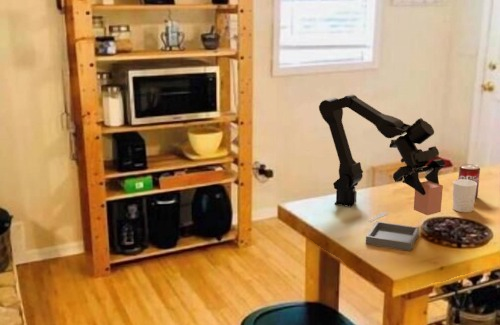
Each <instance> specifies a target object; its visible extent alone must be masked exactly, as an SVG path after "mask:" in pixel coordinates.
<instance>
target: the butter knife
mask: <svg viewBox="0 0 500 325" xmlns="http://www.w3.org/2000/svg"><path fill="white" fill-rule="evenodd" d="M387 215H389V213H388V212H386V211H382V212H380V213H378V214H377V215H376V216H375V217H373V218H371V219H369V220H367V221H368V222H369V223H372V222H374V221H376V220H378V219H380V218H382V217H385V216H387Z"/></svg>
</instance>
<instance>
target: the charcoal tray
mask: <svg viewBox="0 0 500 325" xmlns="http://www.w3.org/2000/svg"><path fill="white" fill-rule="evenodd" d="M419 233H420V227H417V226H412V225H406V224H397V223H391V222H387V221H379V220H377V221H376V222H375V223H374V225H373V226H372V228H371V229H370V230H369V231H368V233H367V235H366V236H365V245H371V246H376V247H383V248H388V249H395V250H401V251H408V252H411V251H412V249H413V247H414V246H415V243H416V241H417V239H418V237H419Z"/></svg>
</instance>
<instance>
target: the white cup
mask: <svg viewBox="0 0 500 325" xmlns="http://www.w3.org/2000/svg"><path fill="white" fill-rule="evenodd" d="M476 188H477V183H476V182H475V181H472V180H467V179H454V180H453V182H452V209H453V210H454V211H456V212H459V213H472V212H473V211H474V206H475V201H476V199H475V196H476Z"/></svg>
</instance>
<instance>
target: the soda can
mask: <svg viewBox="0 0 500 325" xmlns="http://www.w3.org/2000/svg"><path fill="white" fill-rule="evenodd" d="M480 175H481V168H480V166H479V165H476V164H471V163H464V164H461V165H460V166H459V167H458V176H457V177H458V179H467V180H472V181H475V182H476V183H477V188H476V196H475V200H476V199H477V198H478V194H479V183H480ZM458 179H457V180H458Z"/></svg>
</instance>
